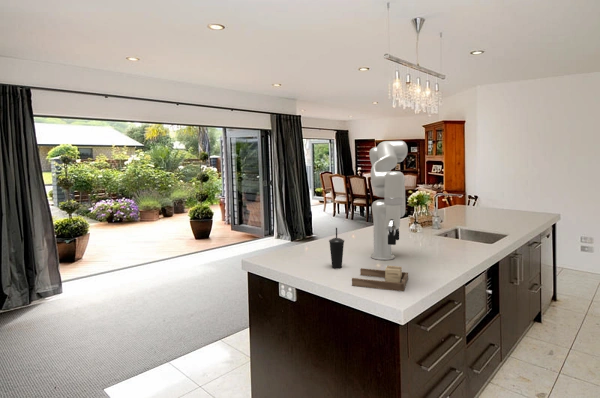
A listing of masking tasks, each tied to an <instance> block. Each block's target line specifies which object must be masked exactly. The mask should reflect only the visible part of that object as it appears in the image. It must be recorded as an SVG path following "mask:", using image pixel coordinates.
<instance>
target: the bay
mask: <svg viewBox="0 0 600 398" xmlns="http://www.w3.org/2000/svg"><path fill="white" fill-rule="evenodd" d="M359 269H360V270H359V273H360V275H359V276H363V277H373V278H375V277H376V278H385V270H384V269H383V270H382V269H374V268H363V267H361V268H359ZM408 280H409V272H406V271H402V282H401V283H397V282H387V281H385V280H375V279H367V278H357V277H351V285H352V286H351V287H361V288H369V289H378V290H387V291H388V290H389V291H397V292H405V290H406V287H407V283H408Z"/></svg>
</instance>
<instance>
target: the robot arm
mask: <svg viewBox="0 0 600 398" xmlns="http://www.w3.org/2000/svg"><path fill="white" fill-rule="evenodd" d="M407 156H408V145H407V143H406V142H405V141H403V140H385V141H382V142H380V143H378V145H377V146H374V147H372V148H371V149H369V160H370V163H371V169H370V181H371V182H370V183H371V185H372V187H373V188H374V189H373V190H374V194H375V196H376V197H377V198H378V197H379V198H384V199H377V200H375V201H373V202H372V203H371V211H372V212H371V213H372V217H373V218H372V220H373V221H372V222H373V253H371V254H370V257H371V258H372V259H373V260H378V261H389V260H393V259H395V255H394V254H393V253H392V245H393V246H395V245H396V244H397V241H399V240H400V226H401V218H403V217H404V216H405V214H406V185H405V183H406V176H405V175H404V173H403V172H401V171H399V170H397V171H396V170H393V169H395V168H396V167H397V165H398V163H401V162H403V161H404V160H405V158H407ZM391 170H393V171H391Z"/></svg>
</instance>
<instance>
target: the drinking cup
mask: <svg viewBox="0 0 600 398" xmlns="http://www.w3.org/2000/svg"><path fill="white" fill-rule="evenodd" d="M328 242H329V249H330V251H329V252H330V259H331V268H332V269H337V270H338V269H342V267H343V255H344V243H345V240H344V239H343V238H340V237H338V227H335V237H333V238H331V239H329V240H328Z"/></svg>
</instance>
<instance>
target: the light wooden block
mask: <svg viewBox="0 0 600 398" xmlns="http://www.w3.org/2000/svg"><path fill="white" fill-rule="evenodd" d="M402 272H403V267H402V266H401V265H400V266H399V265H388V264H387V266H386V267H385V279H384V281H387V282H397V283H401V282H402V280H403V279H402Z"/></svg>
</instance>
